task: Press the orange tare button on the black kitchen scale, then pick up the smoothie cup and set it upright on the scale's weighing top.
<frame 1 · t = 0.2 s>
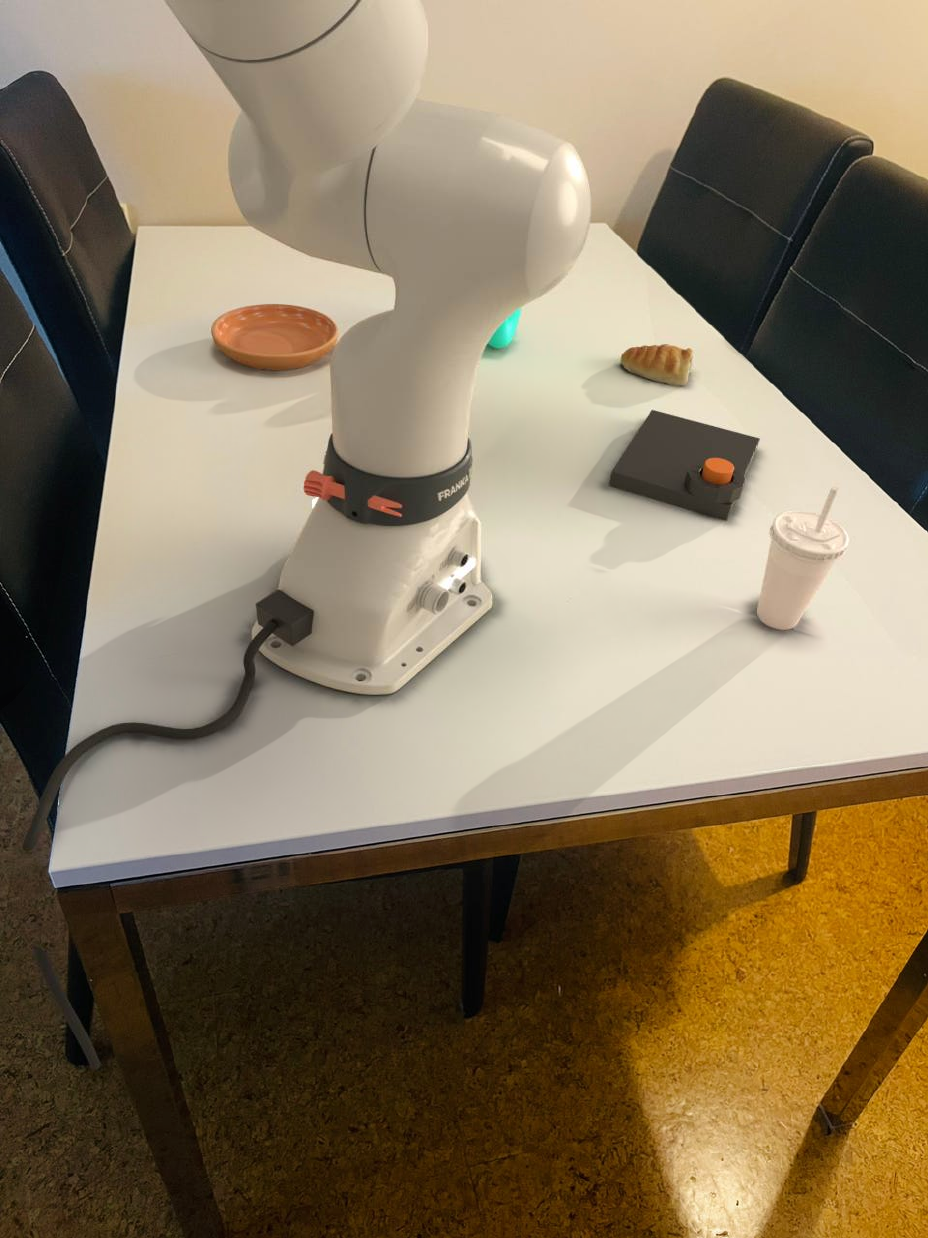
pastry: (659, 375, 118), on the table
scale: (684, 468, 100), on the table
smoothie: (776, 617, 82), on the table
saucer: (276, 350, 116), on the table
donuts: (476, 341, 122), on the table
tare button: (717, 471, 93), point 4 cm above the table, slide at 0.1 cm
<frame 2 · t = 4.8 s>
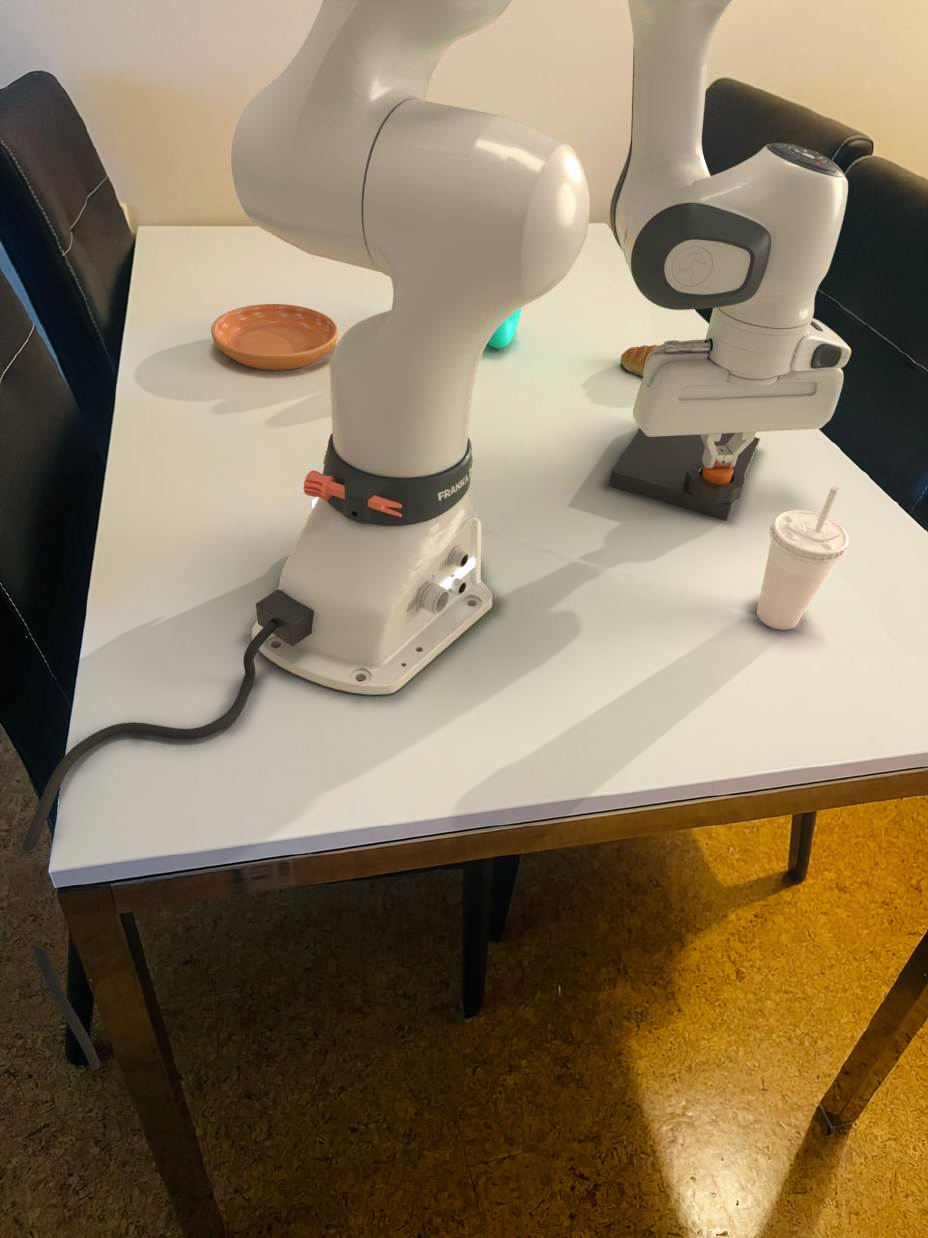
hand: (717, 465, 93), 4 cm above the table, tool pointing down, fingers closed, pressing on tare button
tare button: (716, 474, 93), point 4 cm above the table, slide at -0.2 cm, touching gripper
everything else where it was.
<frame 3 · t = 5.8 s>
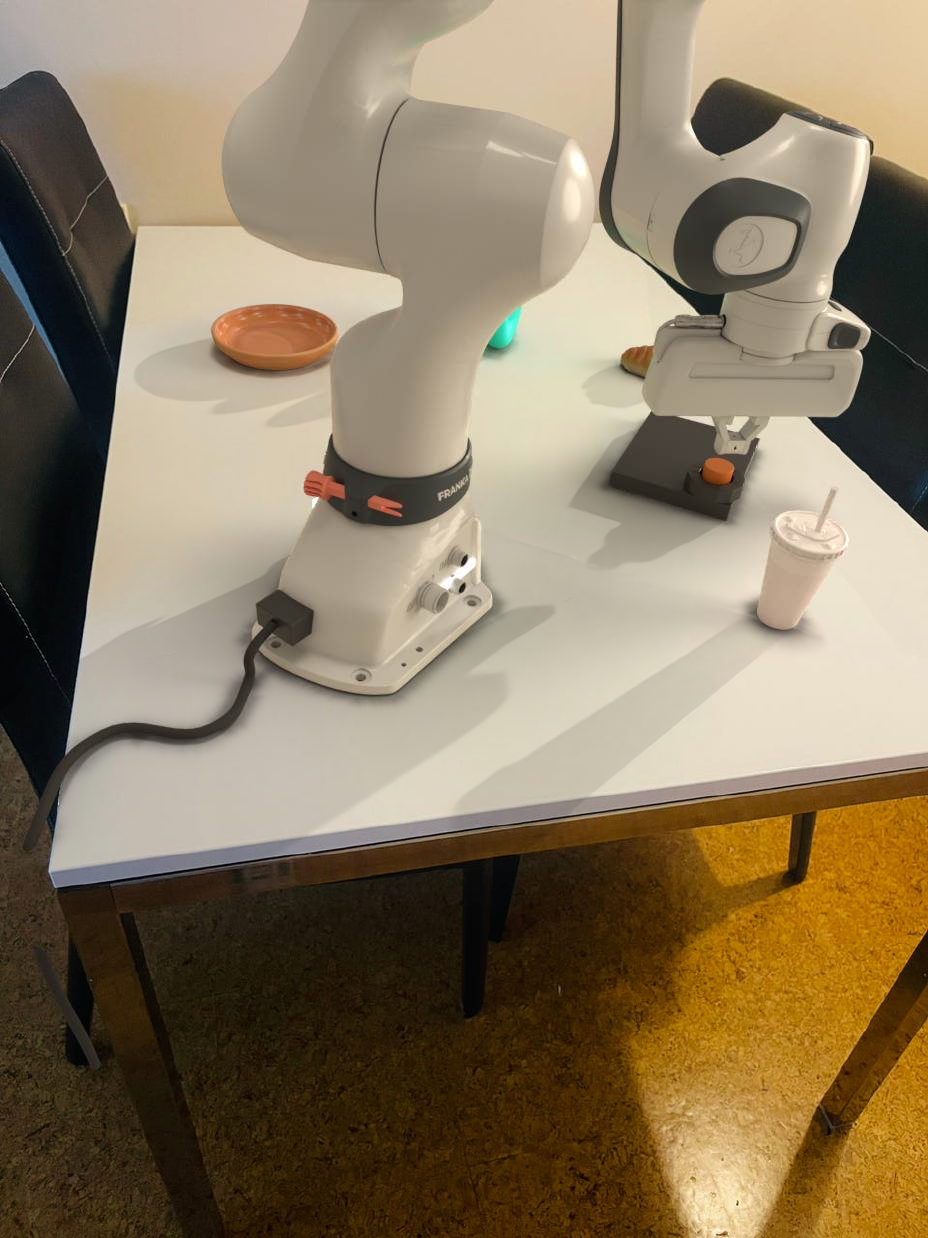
hand: (729, 451, 89), 7 cm above the table, tool pointing down, fingers closed
tare button: (717, 471, 93), point 4 cm above the table, slide at 0.1 cm
everything else where it was.
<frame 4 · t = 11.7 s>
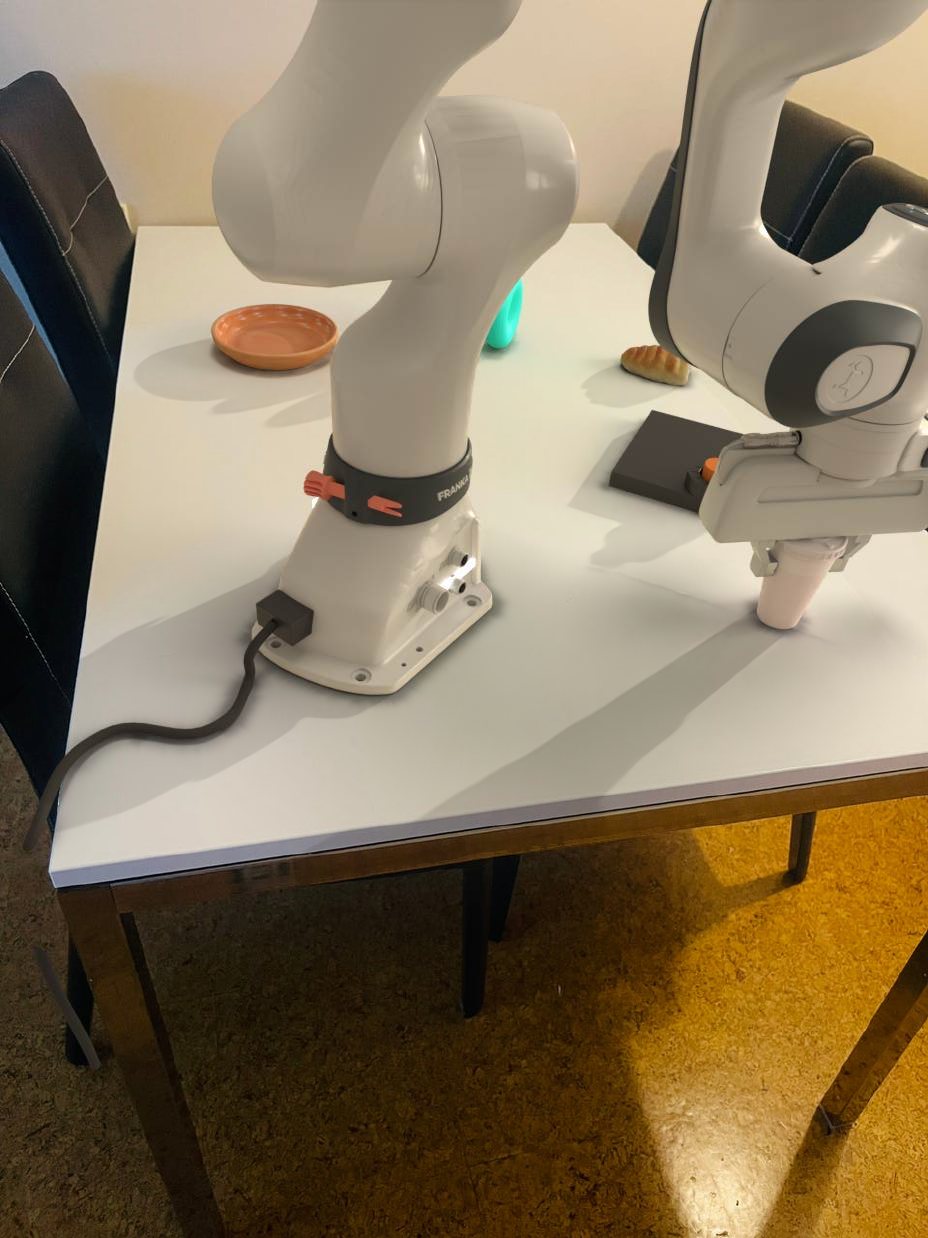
hand: (795, 570, 78), 5 cm above the table, tool pointing down, fingers closed on smoothie, 5 cm apart
smoothie: (776, 617, 82), on the table, touching gripper
everything else where it was.
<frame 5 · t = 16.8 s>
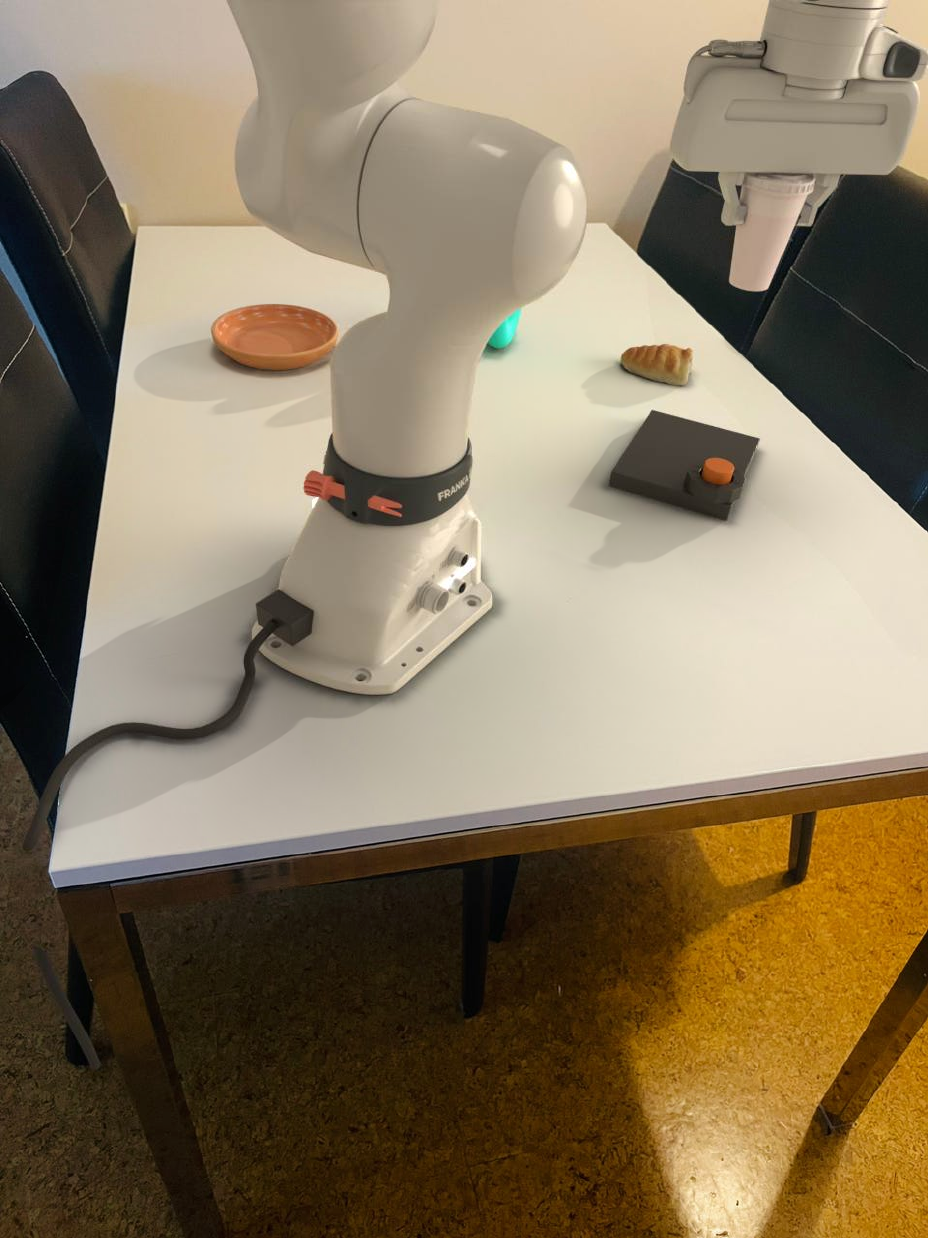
hand: (766, 224, 80), 27 cm above the table, tool pointing down, fingers closed on smoothie, 5 cm apart
smoothie: (748, 285, 84), point 22 cm above the table, touching gripper
everything else where it was.
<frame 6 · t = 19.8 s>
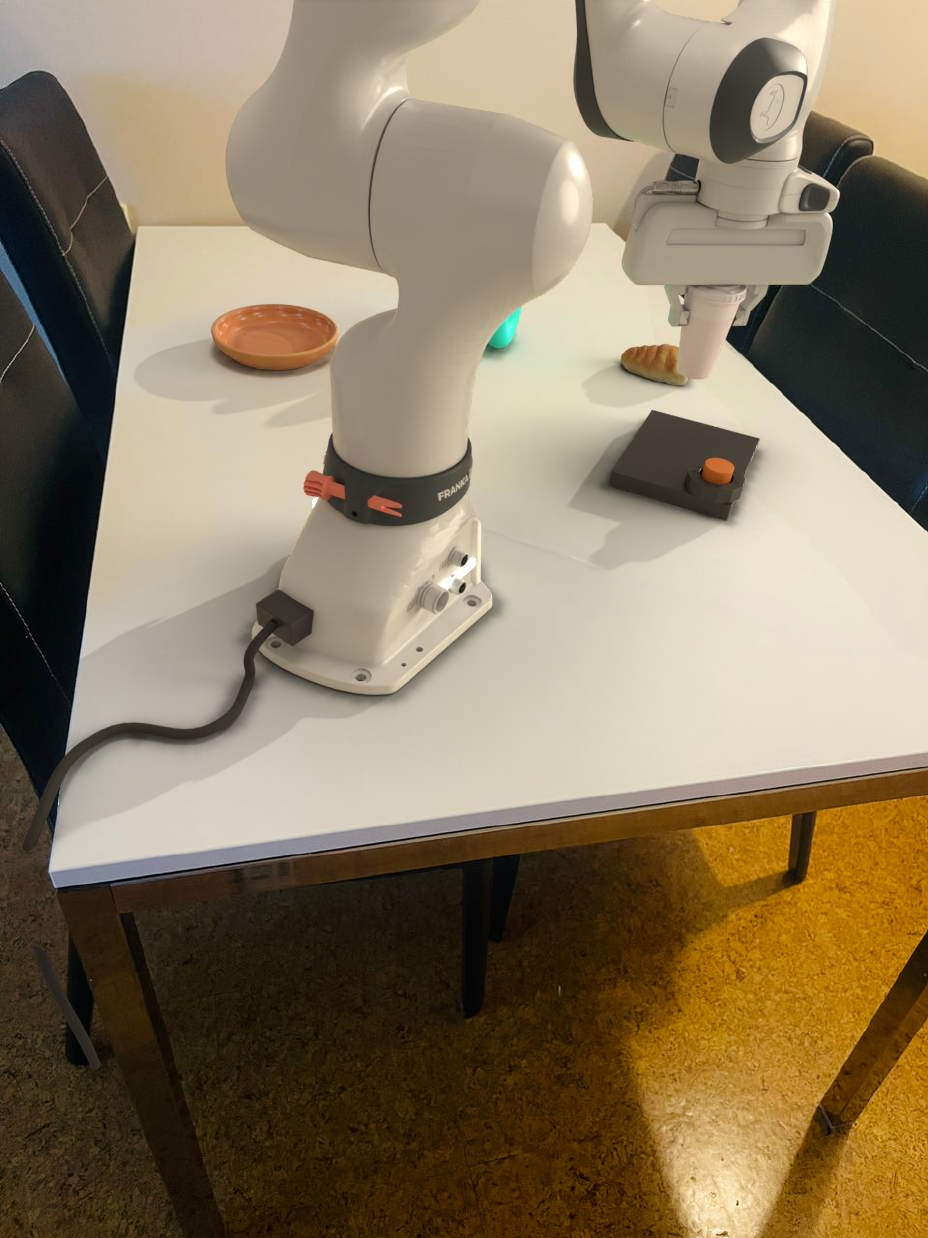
hand: (706, 323, 93), 15 cm above the table, tool pointing down, fingers closed on smoothie, 5 cm apart
smoothie: (693, 373, 97), point 10 cm above the table, touching gripper
everything else where it was.
when the fingers open (7 cm above the table, at t = 22.3 s): smoothie stays where it is, resting on scale.
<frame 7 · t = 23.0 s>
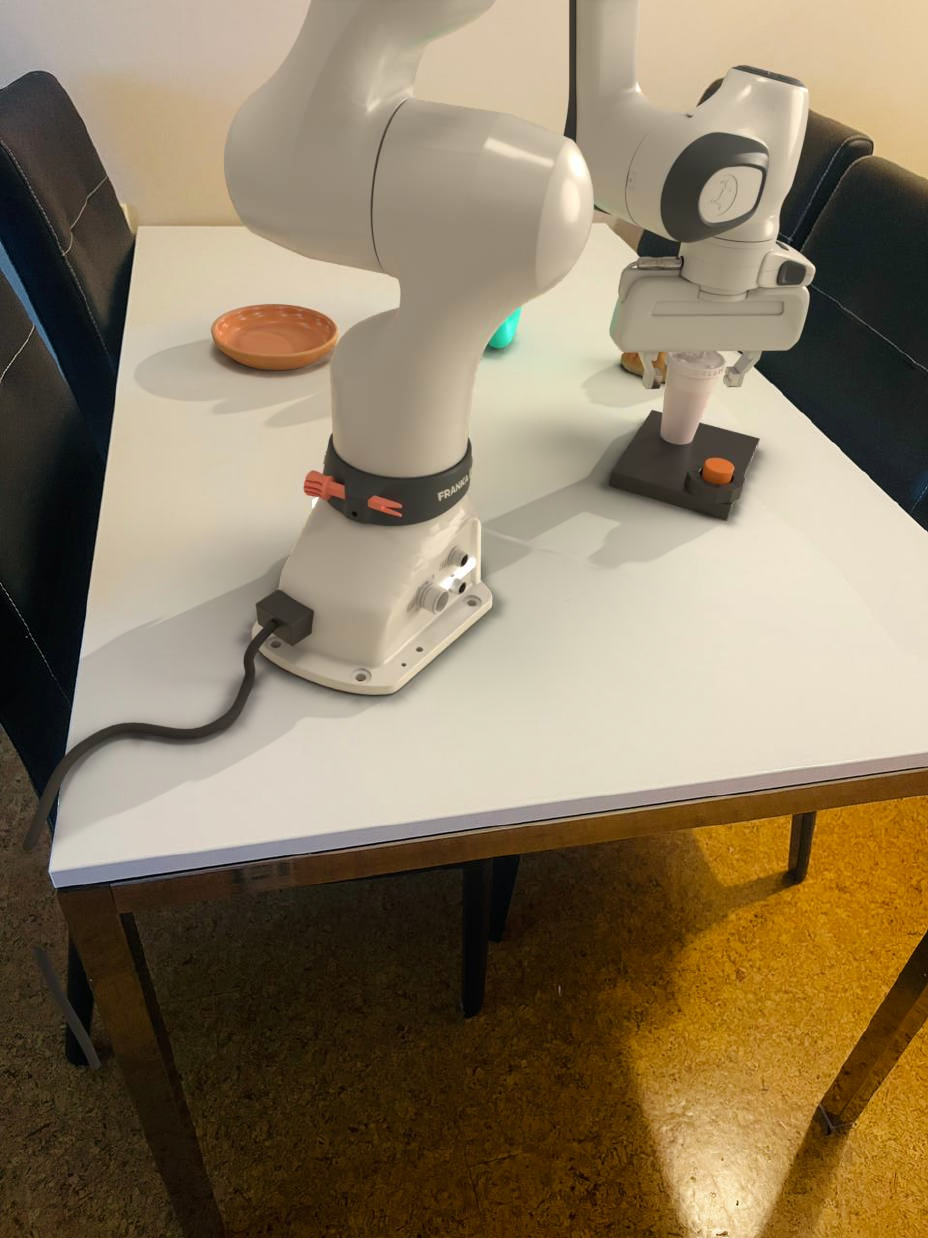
hand: (691, 386, 97), 8 cm above the table, tool pointing down, fingers open, 8 cm apart
smoothie: (675, 437, 102), point 2 cm above the table, touching scale
everything else where it was.
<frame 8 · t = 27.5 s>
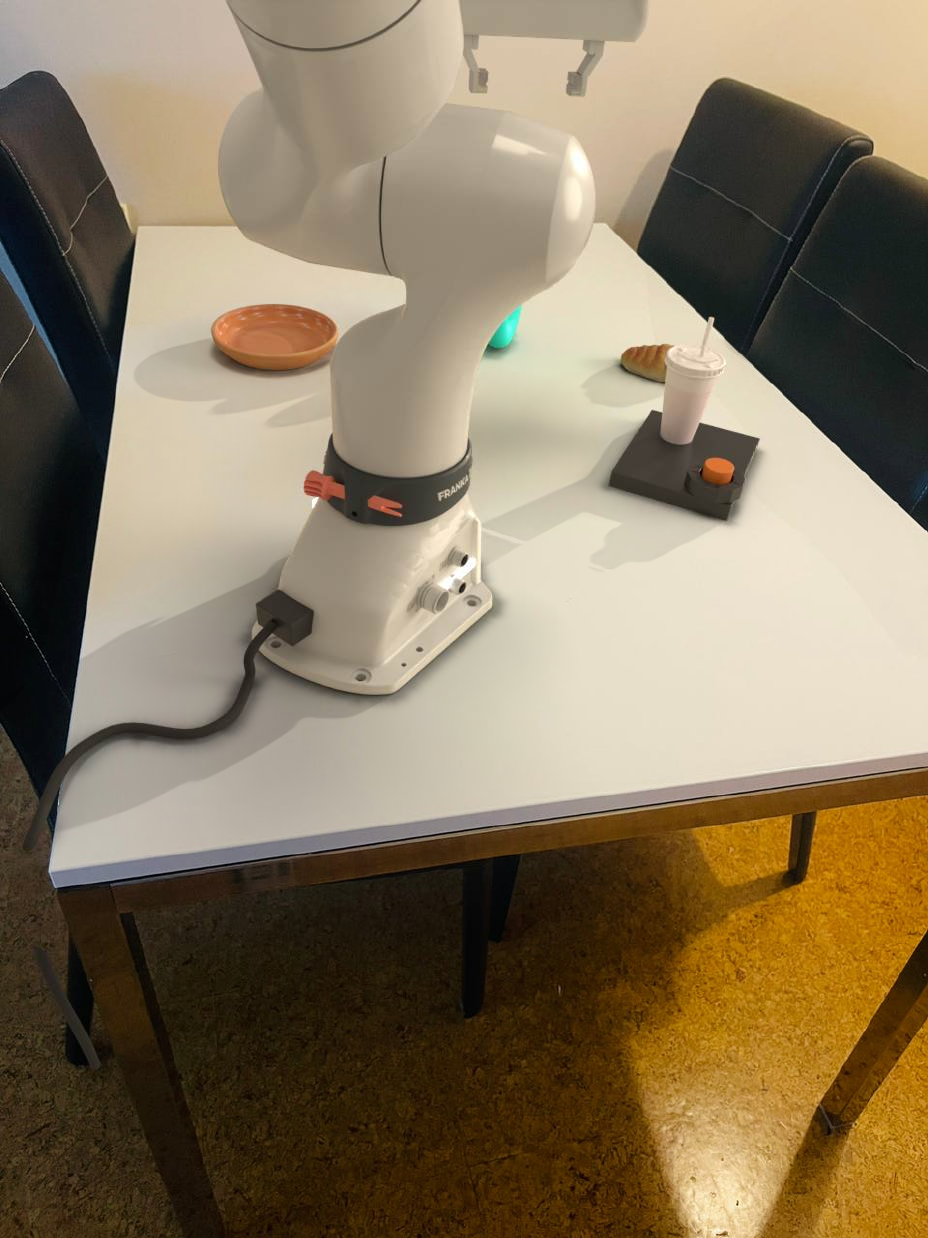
hand: (526, 93, 83), 34 cm above the table, tool pointing down, fingers open, 8 cm apart
nothing on the table moved.
at the end: tare button pushed in 0.9 cm at the most during the clip, back to where it started at the end; smoothie inside the target area on the scale (1.8 cm from its centre), point 1.7 cm above the scale's base; smoothie tilted 0° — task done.
